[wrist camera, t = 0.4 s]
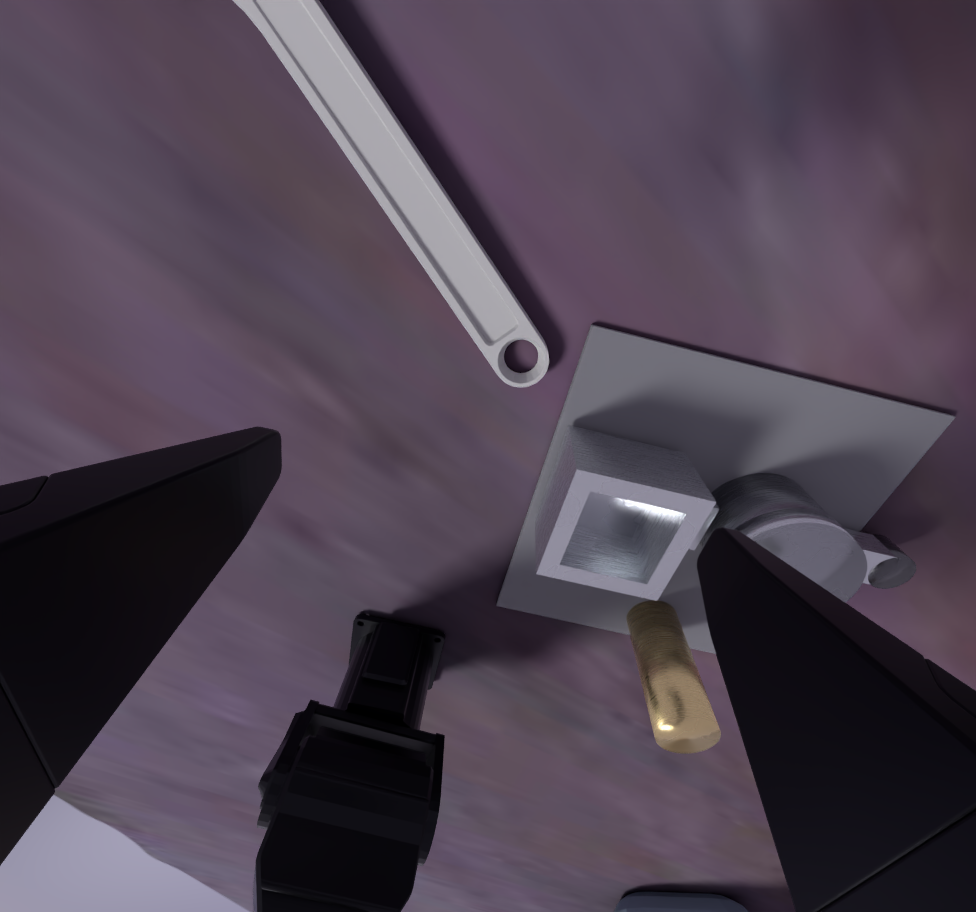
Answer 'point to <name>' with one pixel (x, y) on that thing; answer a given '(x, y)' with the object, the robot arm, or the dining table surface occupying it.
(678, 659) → the brass rounded cylinder
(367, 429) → the dining table surface
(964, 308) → the dining table surface
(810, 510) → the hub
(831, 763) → the robot arm
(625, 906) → the alarm clock
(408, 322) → the dining table surface
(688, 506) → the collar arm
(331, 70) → the adjustable wrench
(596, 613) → the mat
